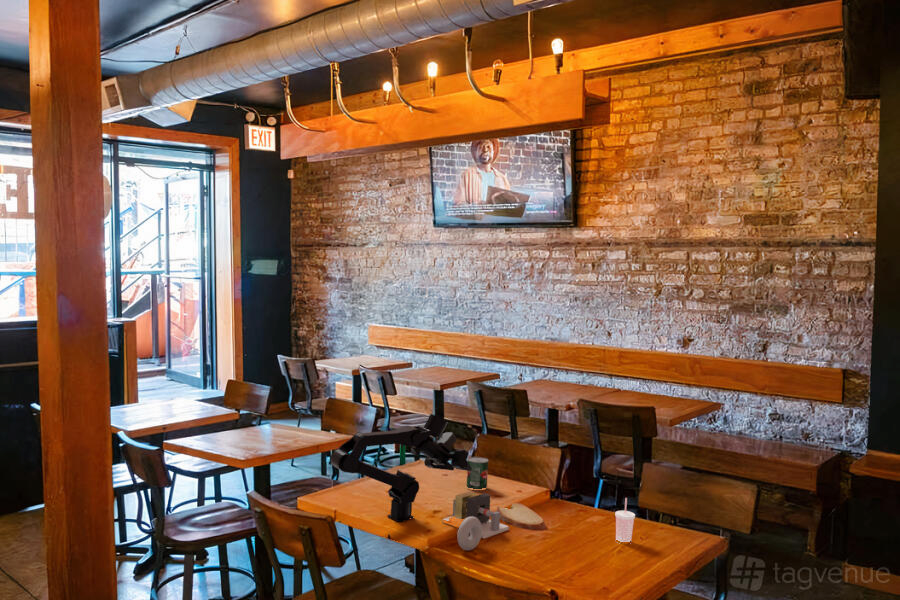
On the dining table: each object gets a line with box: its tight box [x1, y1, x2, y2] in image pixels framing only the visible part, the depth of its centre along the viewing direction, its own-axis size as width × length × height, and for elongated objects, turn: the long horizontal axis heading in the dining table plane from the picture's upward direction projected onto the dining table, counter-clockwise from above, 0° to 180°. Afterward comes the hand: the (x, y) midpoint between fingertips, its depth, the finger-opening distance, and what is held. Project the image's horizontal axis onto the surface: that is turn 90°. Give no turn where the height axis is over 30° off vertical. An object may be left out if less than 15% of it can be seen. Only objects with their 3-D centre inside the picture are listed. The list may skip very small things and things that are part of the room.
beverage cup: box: [614, 497, 636, 542], centre depth 239 cm, size 6×6×14 cm
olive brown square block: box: [454, 490, 478, 519], centre depth 249 cm, size 7×3×7 cm, turn 137°
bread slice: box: [496, 502, 547, 531], centre depth 256 cm, size 18×18×4 cm
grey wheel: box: [456, 516, 482, 552], centre depth 226 cm, size 10×4×10 cm, turn 141°
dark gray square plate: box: [467, 492, 491, 523], centre depth 246 cm, size 8×2×8 cm, turn 137°
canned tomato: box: [466, 456, 489, 489], centre depth 288 cm, size 8×8×11 cm
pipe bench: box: [442, 498, 510, 539], centre depth 246 cm, size 12×18×7 cm, turn 47°
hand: (462, 469), depth 263 cm, fingers open, 9 cm apart
